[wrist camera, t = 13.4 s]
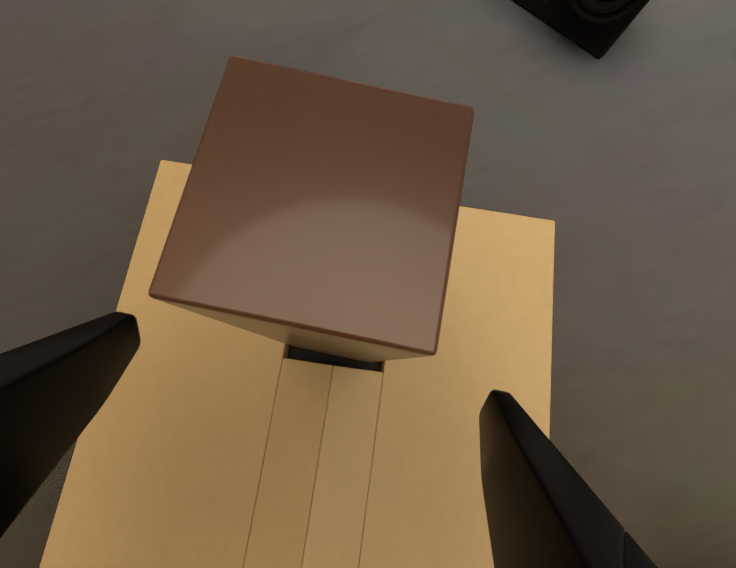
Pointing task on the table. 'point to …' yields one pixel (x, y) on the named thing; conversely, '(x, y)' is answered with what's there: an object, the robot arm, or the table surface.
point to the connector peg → (320, 213)
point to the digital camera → (587, 19)
